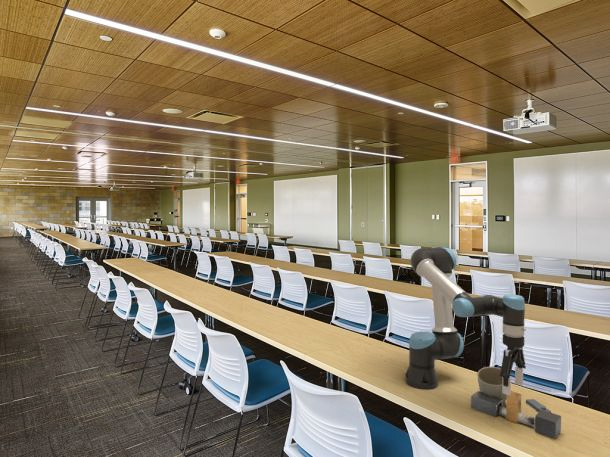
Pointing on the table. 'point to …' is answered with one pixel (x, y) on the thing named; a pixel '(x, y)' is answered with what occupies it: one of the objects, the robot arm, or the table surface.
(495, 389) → the planter
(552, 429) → the socket
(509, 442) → the table surface
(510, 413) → the orange and grey piece
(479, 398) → the grey block
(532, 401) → the bracket
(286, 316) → the table surface
